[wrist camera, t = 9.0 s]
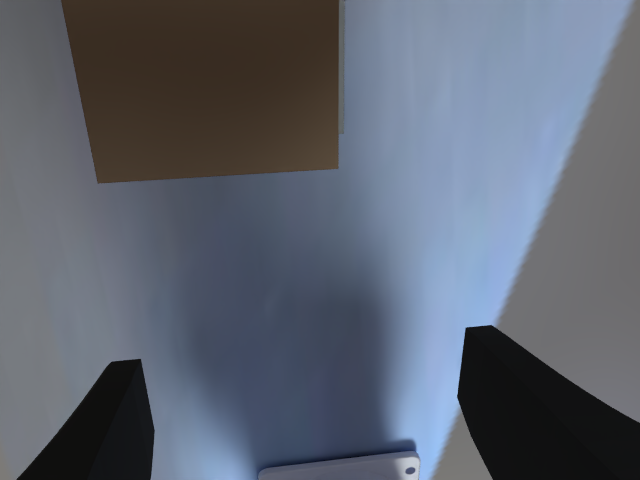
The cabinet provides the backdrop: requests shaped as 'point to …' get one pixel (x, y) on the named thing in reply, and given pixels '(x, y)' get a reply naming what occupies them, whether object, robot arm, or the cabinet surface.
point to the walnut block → (206, 86)
